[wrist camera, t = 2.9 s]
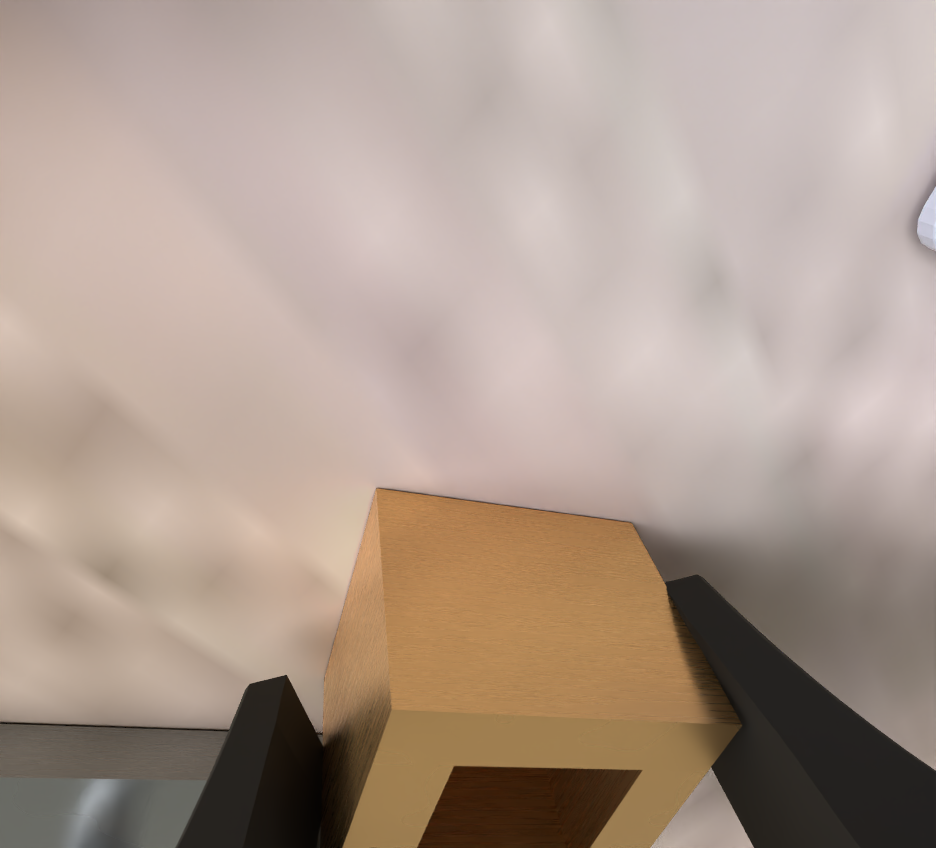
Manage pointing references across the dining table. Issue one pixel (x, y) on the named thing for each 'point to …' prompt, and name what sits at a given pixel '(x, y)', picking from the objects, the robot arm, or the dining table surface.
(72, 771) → the flat gray rectangular block
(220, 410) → the dining table surface
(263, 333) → the dining table surface
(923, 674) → the dining table surface
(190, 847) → the robot arm
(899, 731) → the dining table surface
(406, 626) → the wooden block with hole
